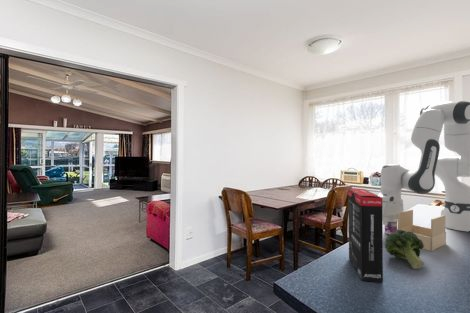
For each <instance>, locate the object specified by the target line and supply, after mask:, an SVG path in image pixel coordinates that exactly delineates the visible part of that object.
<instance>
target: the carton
mask: <svg viewBox="0 0 470 313" xmlns="http://www.w3.org/2000/svg"><path fill="white" fill-rule="evenodd" d="M445 223H446V215H443V216H441V215H440V216H437V217H434V218H431V219H430V226H431V227H430V228H429V227H427V226H426V227H425V226H421V225H416V224H414V210H413V209H409V210H405V211H404V210H403V212H400V213H398V222H397V230H403V231H406V232H413V233H414V234H416V236H417V237H418V238H419V239H420V240H422V242H423V245H424V247H423V249H422V250H426V251H429V252H430V251H431V252H433V251H435V250H437V249H439V248H441V247H443V246H445V245H446V244H447V232H446V227H445Z"/></svg>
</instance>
